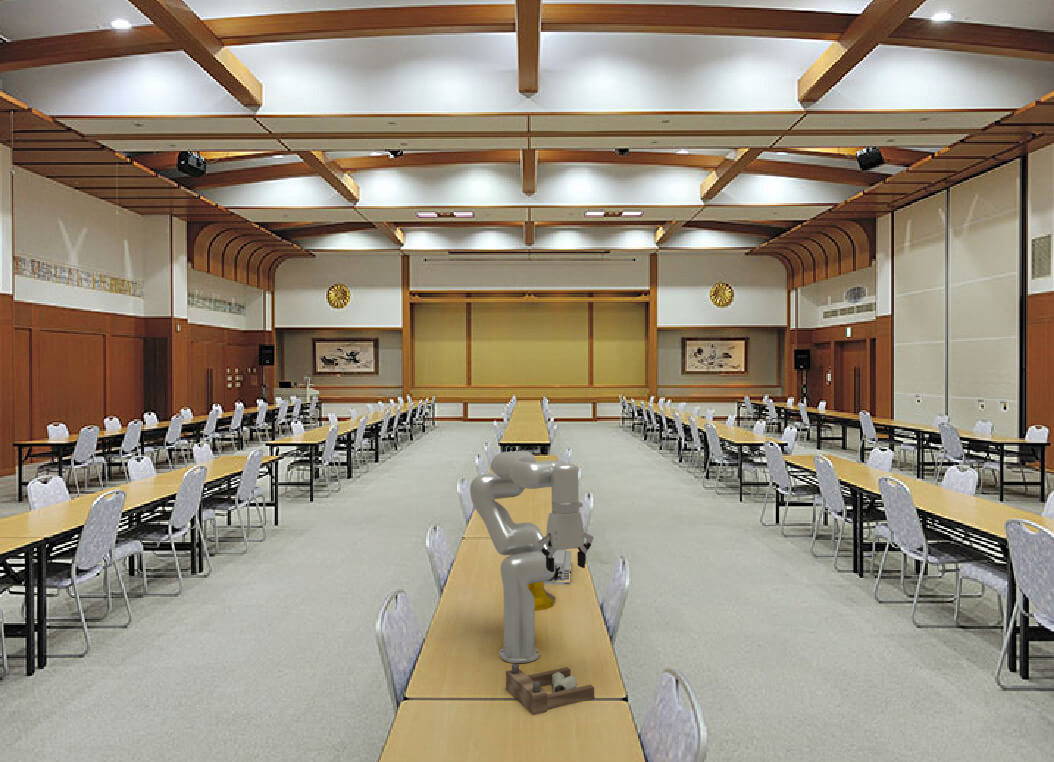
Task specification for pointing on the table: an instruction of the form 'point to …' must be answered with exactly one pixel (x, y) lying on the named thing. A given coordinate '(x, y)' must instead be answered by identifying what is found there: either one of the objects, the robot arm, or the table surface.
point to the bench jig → (536, 697)
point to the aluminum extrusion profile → (561, 568)
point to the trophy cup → (541, 596)
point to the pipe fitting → (562, 682)
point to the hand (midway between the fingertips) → (566, 569)
